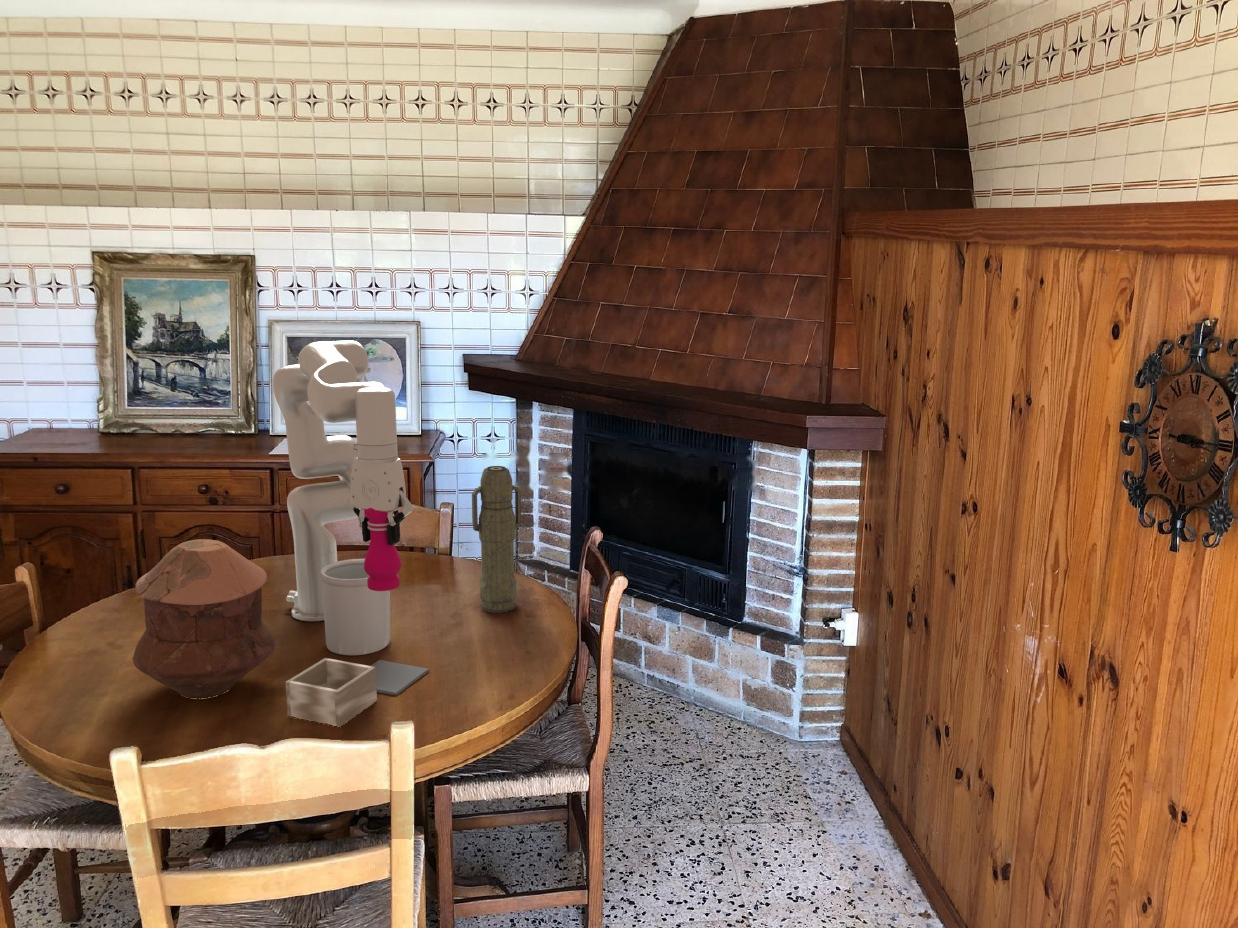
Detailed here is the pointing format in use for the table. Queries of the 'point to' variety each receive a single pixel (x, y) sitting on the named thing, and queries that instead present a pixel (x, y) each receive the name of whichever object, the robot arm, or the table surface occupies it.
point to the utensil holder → (354, 610)
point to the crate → (331, 691)
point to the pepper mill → (381, 554)
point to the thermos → (497, 538)
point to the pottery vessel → (202, 619)
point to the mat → (396, 676)
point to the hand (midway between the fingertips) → (381, 540)
